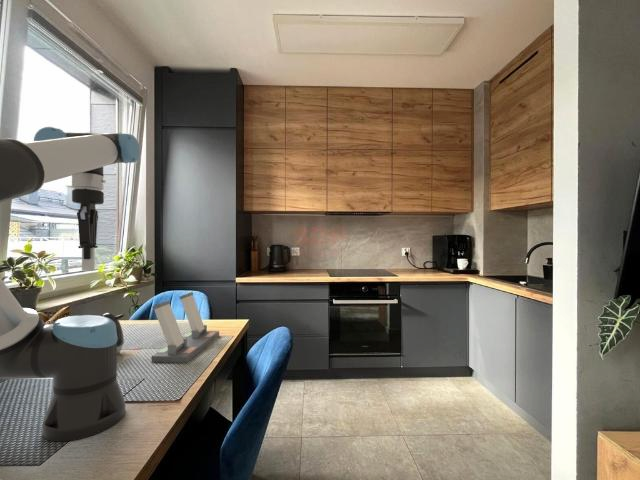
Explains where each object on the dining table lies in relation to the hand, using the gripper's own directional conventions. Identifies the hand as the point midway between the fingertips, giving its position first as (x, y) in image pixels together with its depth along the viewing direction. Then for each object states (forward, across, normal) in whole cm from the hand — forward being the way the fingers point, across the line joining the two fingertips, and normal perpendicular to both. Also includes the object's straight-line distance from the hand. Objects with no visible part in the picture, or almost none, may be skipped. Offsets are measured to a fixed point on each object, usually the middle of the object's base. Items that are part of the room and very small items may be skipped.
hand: (88, 270), depth 93 cm
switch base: (+32, +19, -28) cm, 47 cm away
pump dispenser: (+33, +22, -1) cm, 39 cm away
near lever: (+29, +11, -24) cm, 39 cm away
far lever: (+29, +27, -32) cm, 51 cm away
